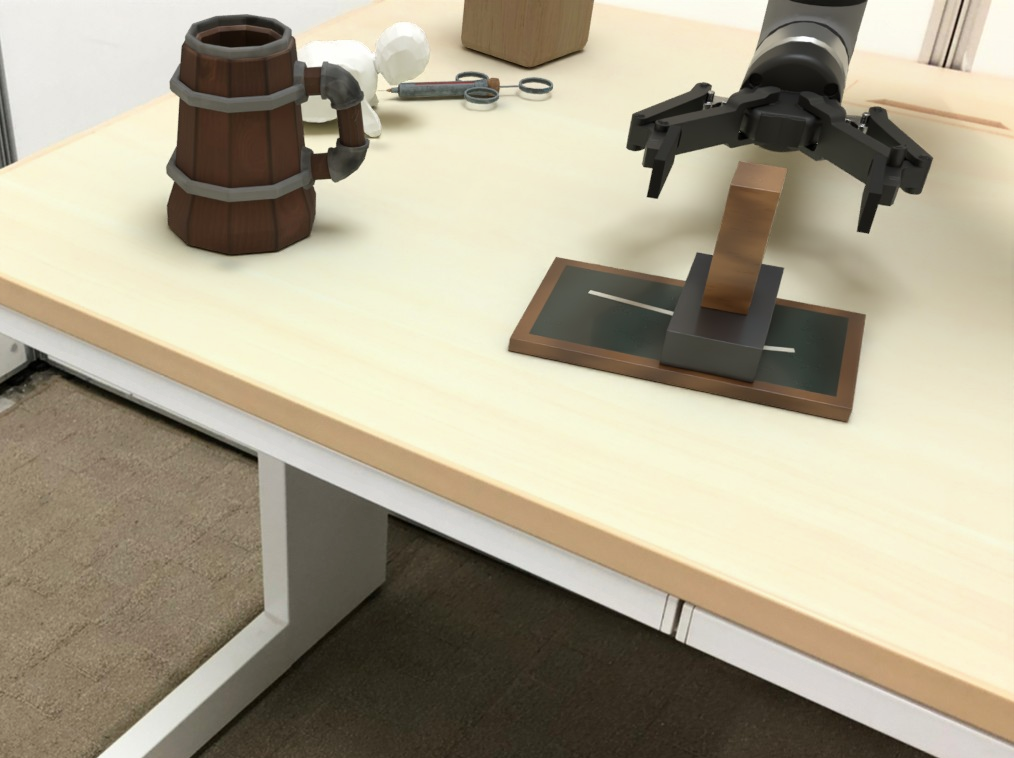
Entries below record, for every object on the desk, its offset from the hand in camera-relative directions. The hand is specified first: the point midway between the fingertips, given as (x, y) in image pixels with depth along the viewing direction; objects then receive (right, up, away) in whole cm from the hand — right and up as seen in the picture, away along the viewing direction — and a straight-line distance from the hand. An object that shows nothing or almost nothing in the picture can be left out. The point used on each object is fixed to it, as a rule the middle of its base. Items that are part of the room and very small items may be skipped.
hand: (759, 196), depth 82 cm
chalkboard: (-4, -9, +4) cm, 10 cm away
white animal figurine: (-25, +17, +35) cm, 46 cm away
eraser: (-2, -8, +3) cm, 9 cm away
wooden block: (-6, +30, +50) cm, 58 cm away
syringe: (-14, +21, +39) cm, 47 cm away
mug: (-33, +3, +18) cm, 37 cm away
